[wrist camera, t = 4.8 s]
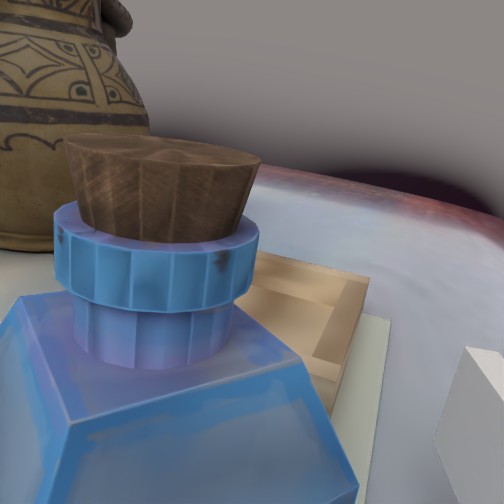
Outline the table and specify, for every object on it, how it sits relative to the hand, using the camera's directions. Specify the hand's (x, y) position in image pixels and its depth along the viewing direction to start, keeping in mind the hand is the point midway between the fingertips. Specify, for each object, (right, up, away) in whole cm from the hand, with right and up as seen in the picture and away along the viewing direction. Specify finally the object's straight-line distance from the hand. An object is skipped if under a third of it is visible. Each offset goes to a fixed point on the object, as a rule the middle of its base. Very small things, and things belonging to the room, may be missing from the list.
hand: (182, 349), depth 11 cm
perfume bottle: (-1, -7, 0) cm, 7 cm away
